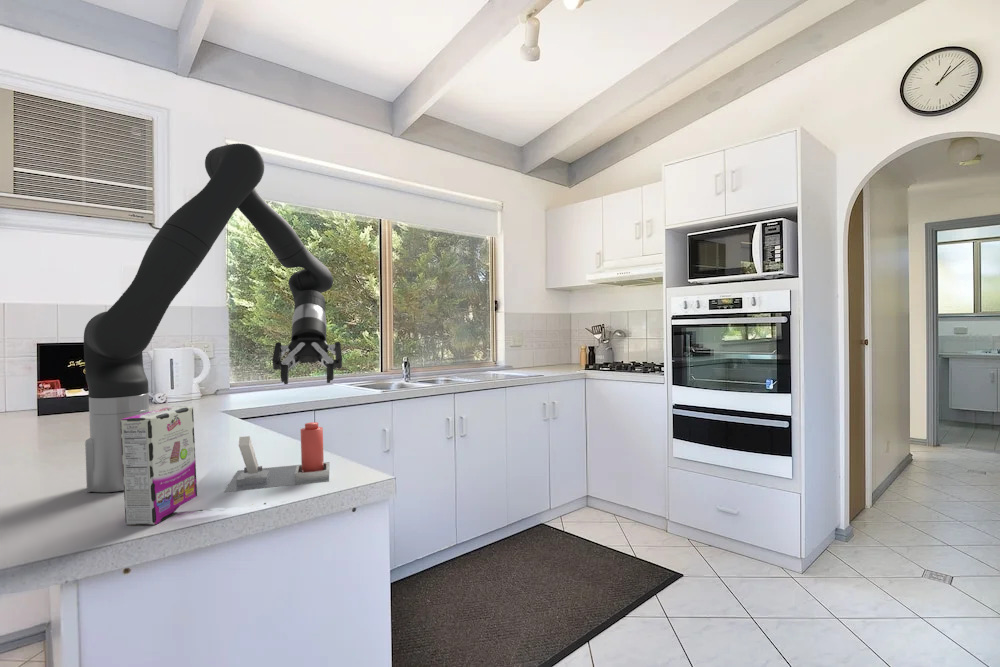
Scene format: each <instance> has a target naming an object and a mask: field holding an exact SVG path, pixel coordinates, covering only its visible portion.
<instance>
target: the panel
mask: <svg viewBox="0 0 1000 667" xmlns="http://www.w3.org/2000/svg"><path fill="white" fill-rule="evenodd" d="M328 482H330V461H328V462H324V470H320V471H310V472H302V464H296V465H283V466H274V467H273V466H272V467H262V471H261V472H258V473H253V474H248V473H244V469H241V470H239V469H238V470H237V471H236V472H235V473H234V475H233V476H232V478H231V479H230V482H229V483H228V485H227V486H226V488H225V489H224V490H223V493H230V492H231V493H232V492H238V491H239V492H240V491H249V490H251V491H252V490H257V489H259V490H260V489H269V488H279V487H287V486H288V487H289V486H297V485H309V484H318V483H319V484H320V483H328Z"/></svg>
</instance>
